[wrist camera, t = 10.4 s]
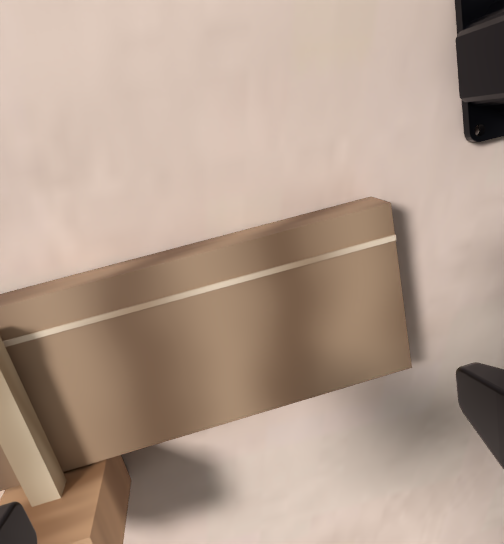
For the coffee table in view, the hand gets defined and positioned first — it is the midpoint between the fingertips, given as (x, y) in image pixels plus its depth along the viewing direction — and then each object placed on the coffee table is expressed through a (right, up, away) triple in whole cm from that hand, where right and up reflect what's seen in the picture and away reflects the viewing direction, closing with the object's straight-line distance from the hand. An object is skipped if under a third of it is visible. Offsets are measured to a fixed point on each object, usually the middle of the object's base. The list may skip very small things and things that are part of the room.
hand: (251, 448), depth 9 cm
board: (-4, 0, +12) cm, 13 cm away
